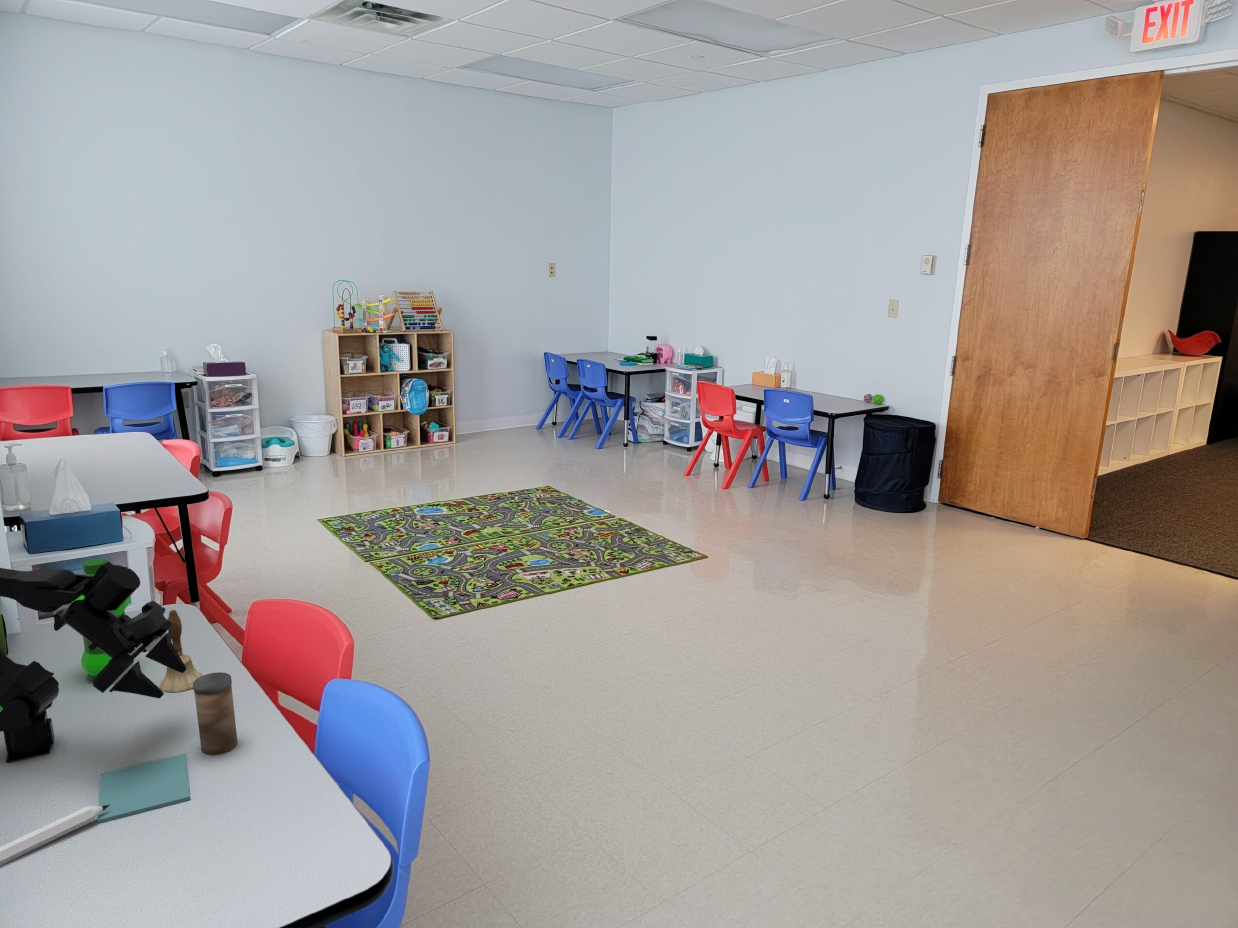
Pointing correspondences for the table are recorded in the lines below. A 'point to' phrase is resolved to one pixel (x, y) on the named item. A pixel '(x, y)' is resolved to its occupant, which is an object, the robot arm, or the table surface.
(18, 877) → the table surface
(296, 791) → the table surface
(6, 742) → the robot arm
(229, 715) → the brown upright cylinder
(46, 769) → the table surface
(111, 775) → the mat
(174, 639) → the hand bell
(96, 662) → the plastic bottle
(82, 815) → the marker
